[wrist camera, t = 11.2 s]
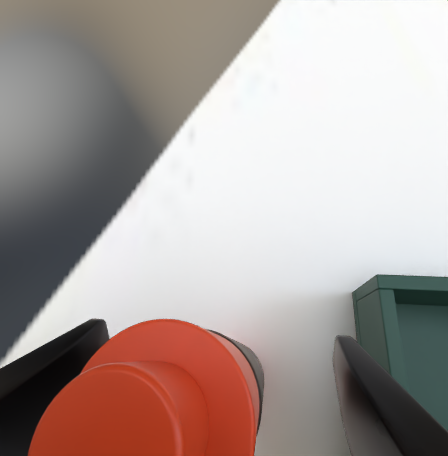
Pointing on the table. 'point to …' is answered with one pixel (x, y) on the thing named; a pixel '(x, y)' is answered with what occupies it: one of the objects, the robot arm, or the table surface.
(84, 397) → the crayon
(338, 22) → the table surface
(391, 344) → the crayon tray
